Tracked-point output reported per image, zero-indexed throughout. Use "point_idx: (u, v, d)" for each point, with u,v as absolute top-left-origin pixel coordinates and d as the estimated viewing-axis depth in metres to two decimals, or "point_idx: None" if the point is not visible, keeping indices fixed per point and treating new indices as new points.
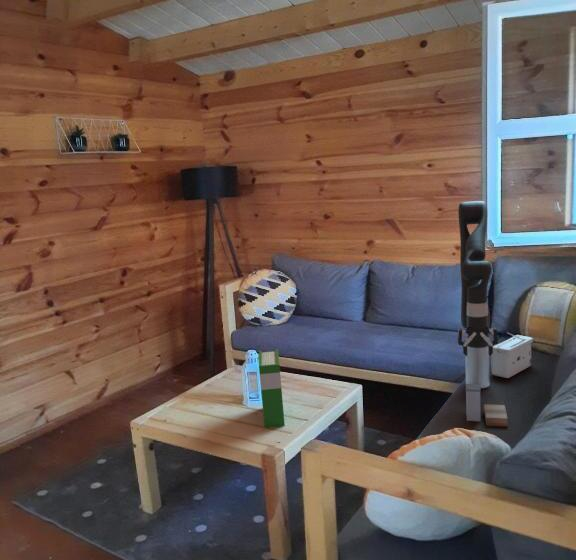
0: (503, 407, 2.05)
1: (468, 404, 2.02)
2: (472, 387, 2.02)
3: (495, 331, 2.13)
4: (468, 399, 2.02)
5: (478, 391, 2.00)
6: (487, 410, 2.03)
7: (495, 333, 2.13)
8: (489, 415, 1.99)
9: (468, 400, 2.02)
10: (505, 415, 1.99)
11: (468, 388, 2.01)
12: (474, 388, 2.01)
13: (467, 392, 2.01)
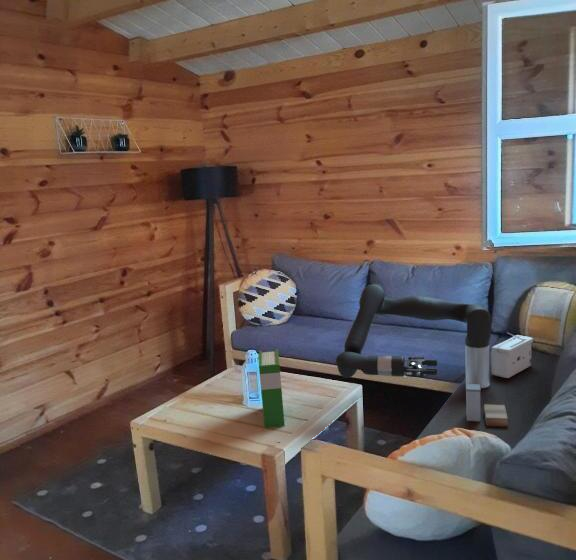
0: (503, 407, 2.05)
1: (468, 404, 2.02)
2: (472, 387, 2.02)
3: (410, 357, 2.12)
4: (468, 399, 2.02)
5: (478, 391, 2.00)
6: (487, 410, 2.03)
7: (412, 357, 2.12)
8: (489, 415, 1.99)
9: (468, 400, 2.02)
10: (505, 415, 1.99)
11: (468, 388, 2.01)
12: (474, 388, 2.01)
13: (467, 392, 2.01)
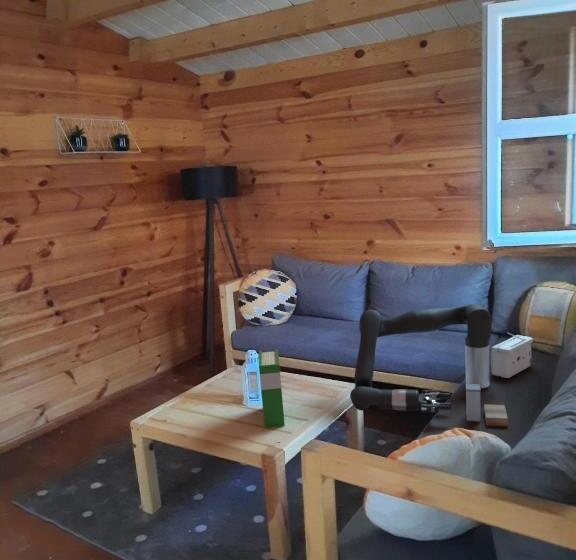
0: (503, 407, 2.05)
1: (468, 404, 2.02)
2: (472, 387, 2.02)
3: (424, 390, 2.14)
4: (468, 399, 2.02)
5: (478, 391, 2.00)
6: (487, 410, 2.03)
7: (426, 390, 2.13)
8: (489, 415, 1.99)
9: (468, 400, 2.02)
10: (505, 415, 1.99)
11: (468, 388, 2.01)
12: (474, 388, 2.01)
13: (467, 392, 2.01)
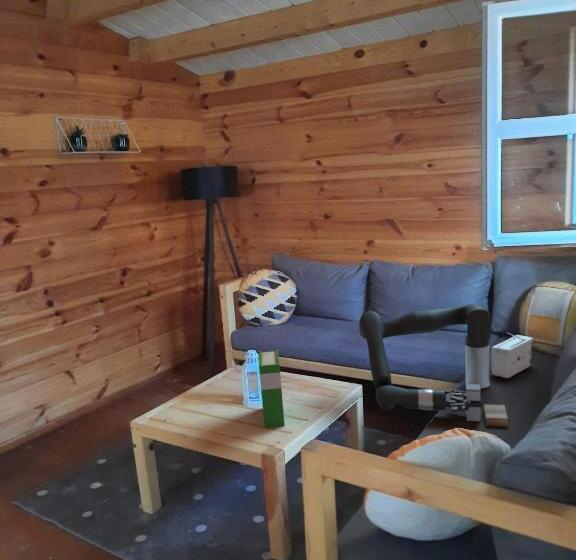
0: (503, 407, 2.05)
1: None
2: (472, 387, 2.02)
3: (453, 390, 2.11)
4: (468, 399, 2.02)
5: (478, 391, 2.00)
6: (487, 410, 2.03)
7: (455, 390, 2.10)
8: (489, 415, 1.99)
9: None
10: (505, 415, 1.99)
11: (468, 388, 2.01)
12: (474, 388, 2.01)
13: (467, 392, 2.01)
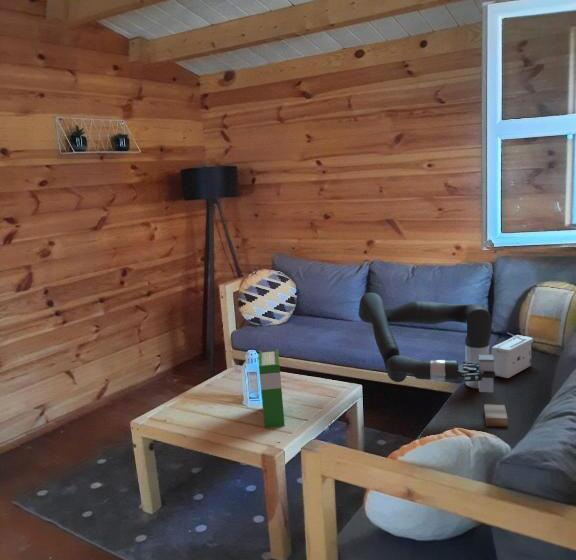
0: (503, 407, 2.05)
1: None
2: (485, 357, 1.99)
3: (465, 361, 2.07)
4: (481, 369, 1.98)
5: (491, 361, 1.96)
6: (487, 410, 2.03)
7: (467, 362, 2.07)
8: (489, 415, 1.99)
9: (481, 370, 1.98)
10: (505, 415, 1.99)
11: (481, 358, 1.98)
12: (487, 358, 1.97)
13: (480, 362, 1.98)
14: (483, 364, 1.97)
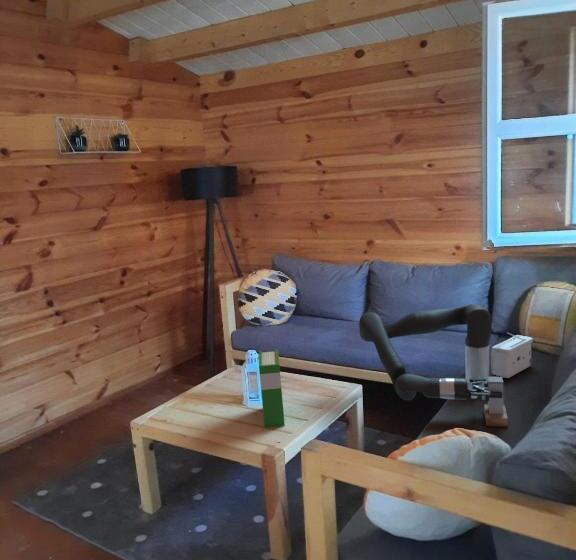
0: (503, 407, 2.05)
1: None
2: (494, 379, 2.00)
3: (471, 379, 2.08)
4: None
5: (501, 383, 1.97)
6: (487, 410, 2.03)
7: (474, 379, 2.08)
8: (489, 415, 1.99)
9: None
10: (505, 415, 1.99)
11: (491, 380, 1.99)
12: (496, 381, 1.98)
13: (490, 385, 1.98)
14: (492, 386, 1.98)
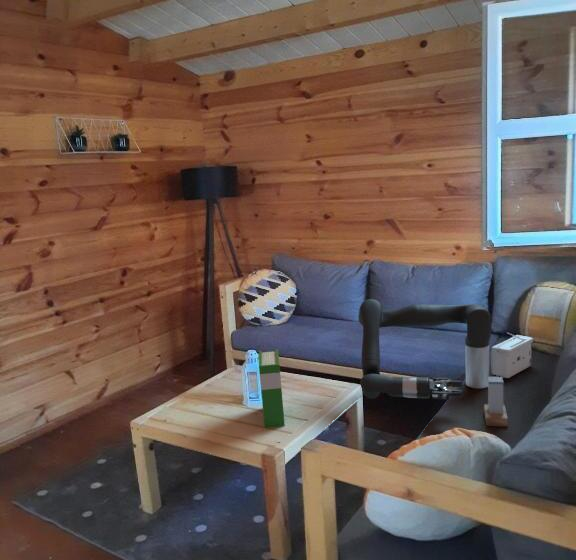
0: (503, 407, 2.05)
1: (491, 397, 1.99)
2: (494, 379, 2.00)
3: (435, 378, 2.12)
4: (491, 392, 1.99)
5: (501, 383, 1.97)
6: (487, 410, 2.03)
7: (437, 378, 2.12)
8: (489, 415, 1.99)
9: (491, 393, 1.99)
10: (505, 415, 1.99)
11: (491, 381, 1.99)
12: (496, 381, 1.98)
13: (490, 385, 1.98)
14: (493, 386, 1.98)
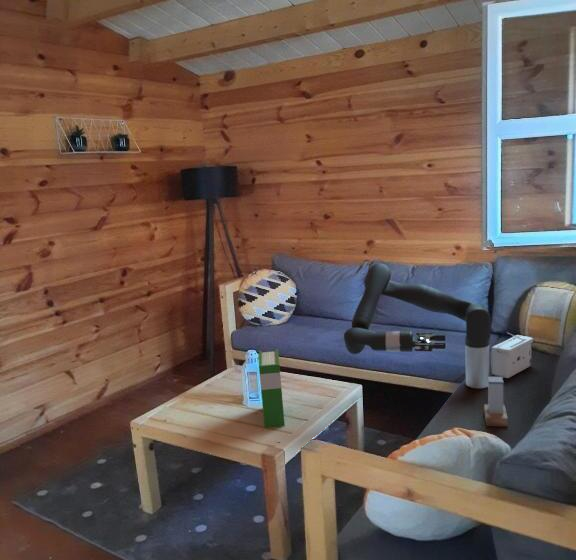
0: (503, 407, 2.05)
1: (491, 397, 1.99)
2: (494, 379, 2.00)
3: (418, 332, 2.12)
4: (491, 392, 1.99)
5: (501, 383, 1.97)
6: (487, 410, 2.03)
7: (420, 332, 2.12)
8: (489, 415, 1.99)
9: (491, 393, 1.99)
10: (505, 415, 1.99)
11: (491, 381, 1.99)
12: (496, 381, 1.98)
13: (490, 385, 1.98)
14: (493, 386, 1.98)
